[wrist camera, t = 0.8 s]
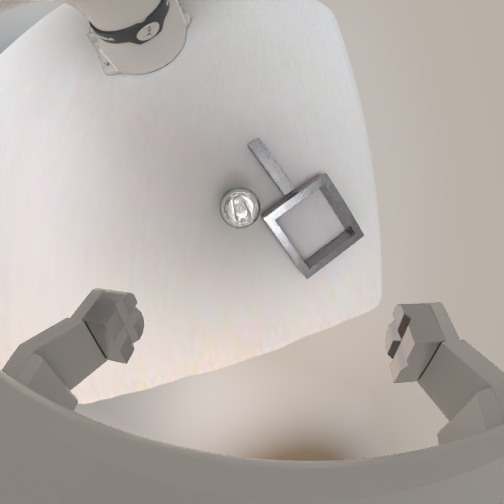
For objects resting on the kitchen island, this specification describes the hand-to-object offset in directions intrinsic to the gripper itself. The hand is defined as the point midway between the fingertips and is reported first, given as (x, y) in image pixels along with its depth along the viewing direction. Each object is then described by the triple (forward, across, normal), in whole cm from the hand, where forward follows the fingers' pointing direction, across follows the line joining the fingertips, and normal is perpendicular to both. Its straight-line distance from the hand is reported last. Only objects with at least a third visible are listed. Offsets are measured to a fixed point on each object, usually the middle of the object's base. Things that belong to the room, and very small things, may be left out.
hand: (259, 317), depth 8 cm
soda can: (+37, +8, +11) cm, 39 cm away
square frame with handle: (+39, -1, +11) cm, 40 cm away
